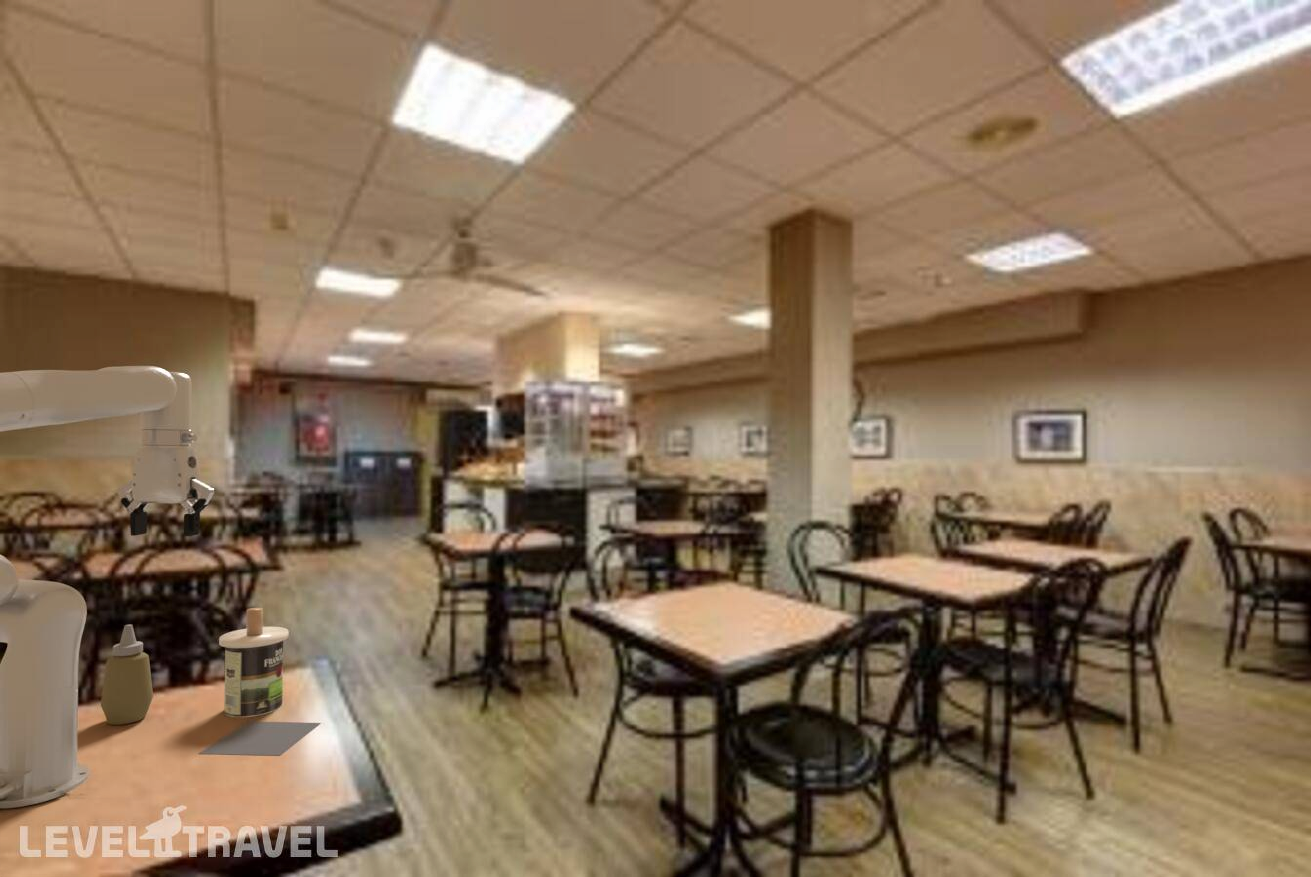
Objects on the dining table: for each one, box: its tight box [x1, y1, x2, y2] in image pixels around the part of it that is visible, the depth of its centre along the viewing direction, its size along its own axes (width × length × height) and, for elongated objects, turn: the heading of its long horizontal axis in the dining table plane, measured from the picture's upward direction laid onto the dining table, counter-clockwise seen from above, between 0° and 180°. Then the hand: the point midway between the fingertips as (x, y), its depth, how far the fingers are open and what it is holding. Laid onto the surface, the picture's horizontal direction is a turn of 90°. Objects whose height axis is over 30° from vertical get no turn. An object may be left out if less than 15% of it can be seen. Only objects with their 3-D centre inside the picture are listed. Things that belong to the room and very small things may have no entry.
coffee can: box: [224, 640, 285, 718], centre depth 143 cm, size 10×10×14 cm
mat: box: [198, 720, 322, 757], centre depth 128 cm, size 14×14×1 cm
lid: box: [218, 607, 290, 648], centre depth 143 cm, size 12×12×6 cm
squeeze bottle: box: [100, 624, 154, 726], centre depth 137 cm, size 8×8×18 cm
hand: (165, 535), depth 130 cm, fingers open, 9 cm apart
